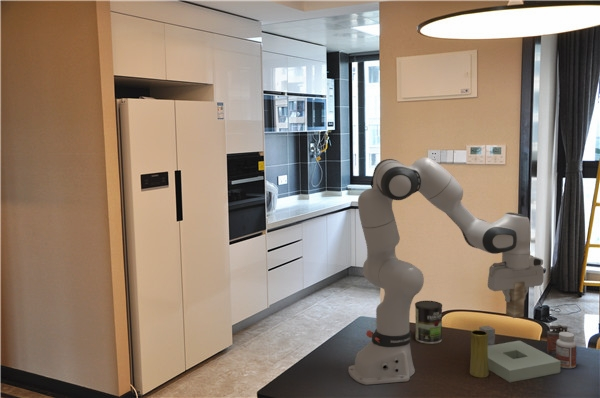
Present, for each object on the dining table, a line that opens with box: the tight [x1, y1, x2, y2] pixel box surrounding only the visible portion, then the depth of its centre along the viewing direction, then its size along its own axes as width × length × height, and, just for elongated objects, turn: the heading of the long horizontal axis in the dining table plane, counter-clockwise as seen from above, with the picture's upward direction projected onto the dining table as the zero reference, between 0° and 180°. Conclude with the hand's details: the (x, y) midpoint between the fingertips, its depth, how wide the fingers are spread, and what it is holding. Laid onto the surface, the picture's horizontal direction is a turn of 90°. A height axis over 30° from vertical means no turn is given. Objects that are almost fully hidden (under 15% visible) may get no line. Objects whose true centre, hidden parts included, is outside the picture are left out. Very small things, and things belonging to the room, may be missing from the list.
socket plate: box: [488, 340, 561, 383], centre depth 193 cm, size 20×20×4 cm
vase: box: [469, 329, 490, 379], centre depth 187 cm, size 6×6×14 cm
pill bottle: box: [555, 331, 577, 369], centre depth 191 cm, size 6×6×11 cm
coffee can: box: [414, 300, 443, 345], centre depth 219 cm, size 10×10×14 cm
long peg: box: [505, 282, 525, 319], centre depth 190 cm, size 4×4×12 cm
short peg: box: [478, 325, 496, 346], centre depth 214 cm, size 4×4×6 cm
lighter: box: [546, 324, 572, 355], centre depth 203 cm, size 8×3×10 cm, turn 84°
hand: (515, 300), depth 190 cm, fingers closed on long peg, 4 cm apart
